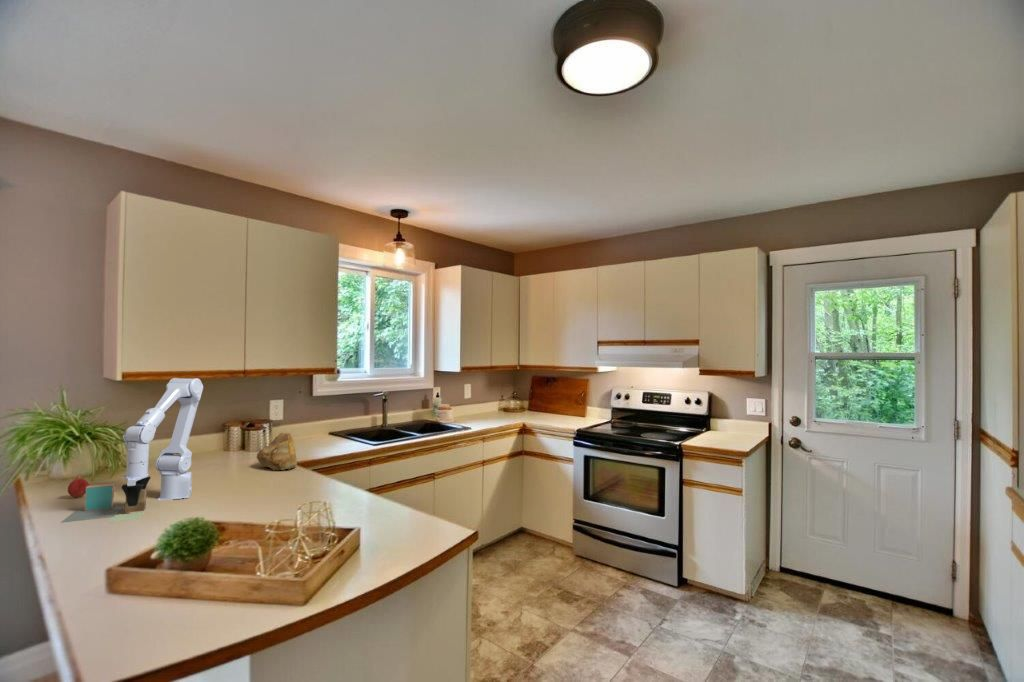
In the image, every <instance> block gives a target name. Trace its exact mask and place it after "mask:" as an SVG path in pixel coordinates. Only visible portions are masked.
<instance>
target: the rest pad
mask: <svg viewBox="0 0 1024 682" xmlns="http://www.w3.org/2000/svg"><path fill="white" fill-rule="evenodd" d="M144 513H145V511H137V512H128V513H122V514H121V513H120V514H116V515H115V516H114V517H110V518H109V519H108V521H107V523H113V522H119V521H128V520H137V519H140V518H141V517H142V516H143V514H144Z"/></svg>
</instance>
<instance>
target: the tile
mask: <svg viewBox="0 0 1024 682" xmlns="http://www.w3.org/2000/svg"><path fill="white" fill-rule="evenodd" d="M84 496H85V499H84V509H85V511H94V510H104V509H112V508H113V506H114V499H115V498H114V496H115V483H105V484H93V485H89V486H87V487H86V493H85V495H84Z"/></svg>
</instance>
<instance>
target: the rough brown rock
mask: <svg viewBox="0 0 1024 682" xmlns="http://www.w3.org/2000/svg"><path fill="white" fill-rule="evenodd" d="M295 448H296V447H295V439H294V437H293V435H292V433H290V432H285V433H284V432H280V433H279V434H278V435H277V436H276V437H275V438H274V439H273V440H272V441H271V442H270V444H269V445H267V446H265V447H263V448H261V449H260V450H259V451H258V452H257V455H256V460H257V461H258V462H259V463H260V465H261V466H262V467H263V466H264V467H263V468H269V469H271V470H273V471H275V470H278V471H280V470H281V471H286V470H285V469H288V470H291V468H292V469H294V468H296V466H298V463H297V462H298V461H297V454H296V453H297V452H296V449H295Z"/></svg>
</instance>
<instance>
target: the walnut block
mask: <svg viewBox="0 0 1024 682" xmlns="http://www.w3.org/2000/svg"><path fill="white" fill-rule="evenodd" d="M124 505H125V506H124V514H128V513H137V512H145V510H146V508H147V488H146V489H141V492H140V495H139V499H138V503H137V505H136V506H128V503H127V498H126V497H125V504H124Z"/></svg>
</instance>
